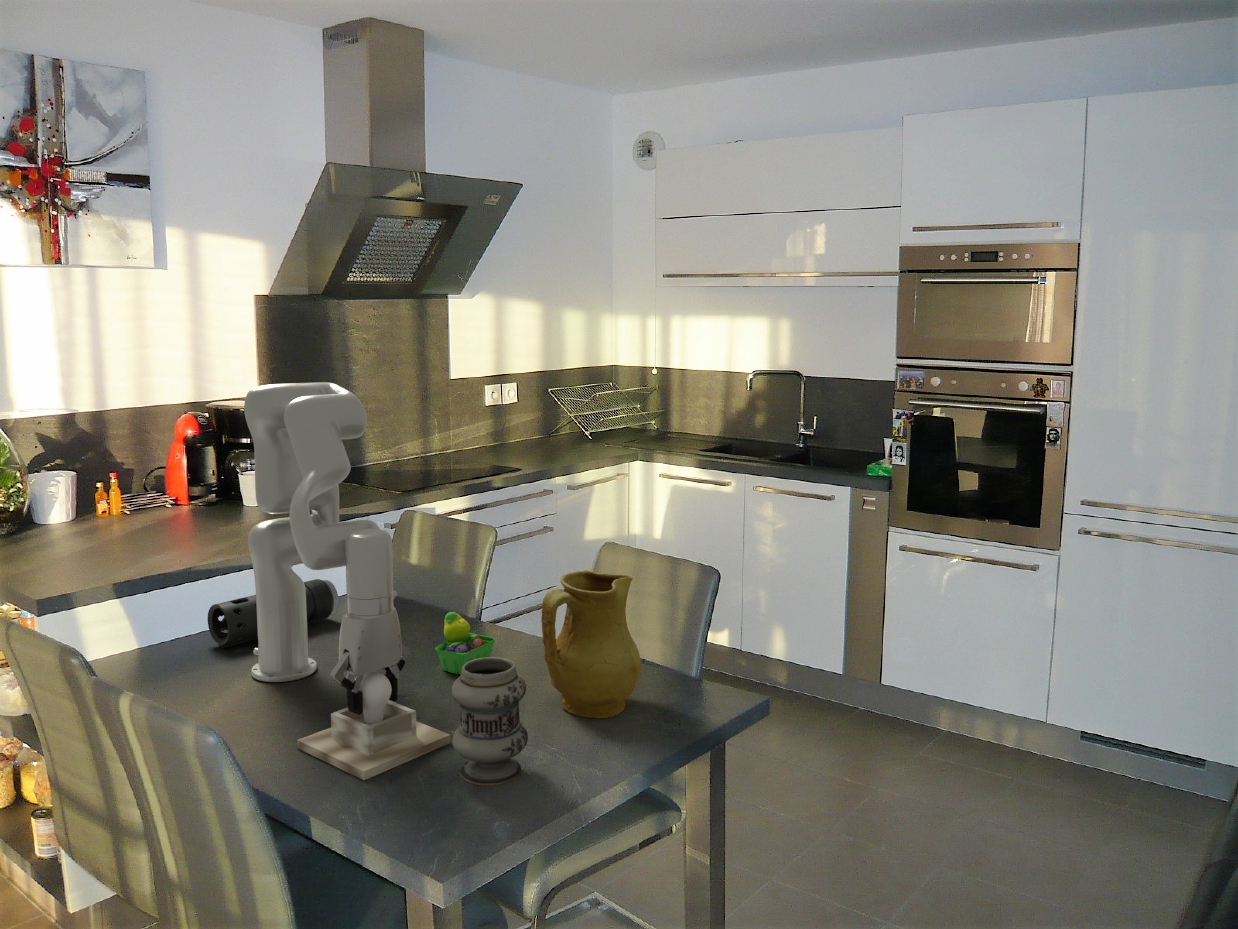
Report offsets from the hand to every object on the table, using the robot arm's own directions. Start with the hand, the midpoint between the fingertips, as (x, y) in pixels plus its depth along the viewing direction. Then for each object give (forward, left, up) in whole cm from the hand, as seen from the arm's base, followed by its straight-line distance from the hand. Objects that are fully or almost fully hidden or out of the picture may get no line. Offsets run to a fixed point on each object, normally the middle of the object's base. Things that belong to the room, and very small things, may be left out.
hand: (373, 705), depth 171 cm
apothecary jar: (+22, +6, -7) cm, 24 cm away
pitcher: (+17, +37, -7) cm, 41 cm away
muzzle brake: (-64, +23, -8) cm, 69 cm away
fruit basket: (-17, +36, -8) cm, 41 cm away
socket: (0, 0, -7) cm, 7 cm away
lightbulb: (0, 0, -6) cm, 6 cm away
